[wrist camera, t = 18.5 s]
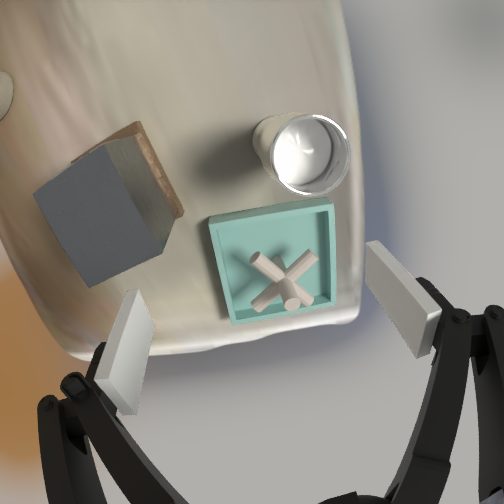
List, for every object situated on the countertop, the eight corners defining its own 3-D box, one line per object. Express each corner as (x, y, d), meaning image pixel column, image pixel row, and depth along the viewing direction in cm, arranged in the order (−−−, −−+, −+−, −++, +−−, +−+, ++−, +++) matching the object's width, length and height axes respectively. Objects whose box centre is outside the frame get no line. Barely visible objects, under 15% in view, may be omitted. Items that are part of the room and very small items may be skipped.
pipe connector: (324, 258, 42) (351, 298, 33) (275, 303, 45) (288, 350, 36) (277, 212, 39) (296, 246, 30) (224, 265, 41) (227, 310, 32)
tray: (209, 216, 39) (208, 224, 36) (326, 197, 39) (333, 203, 36) (230, 313, 46) (231, 325, 43) (329, 293, 46) (336, 304, 43)
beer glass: (310, 121, 35) (363, 128, 21) (295, 173, 37) (338, 208, 24) (256, 106, 33) (280, 99, 20) (242, 160, 36) (256, 188, 23)
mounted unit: (77, 159, 33) (22, 183, 22) (139, 121, 32) (101, 125, 21) (121, 241, 39) (88, 293, 27) (184, 210, 38) (169, 255, 26)
